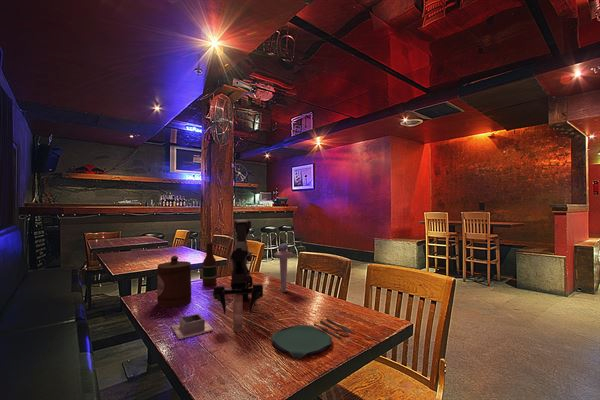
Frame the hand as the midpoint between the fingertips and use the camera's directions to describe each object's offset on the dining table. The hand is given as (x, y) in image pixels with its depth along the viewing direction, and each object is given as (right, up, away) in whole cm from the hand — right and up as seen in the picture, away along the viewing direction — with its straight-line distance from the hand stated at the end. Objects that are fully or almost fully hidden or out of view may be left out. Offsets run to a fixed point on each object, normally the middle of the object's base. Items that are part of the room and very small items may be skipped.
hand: (237, 313), depth 106 cm
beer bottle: (-29, -7, +60) cm, 67 cm away
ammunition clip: (-15, -7, +70) cm, 72 cm away
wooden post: (0, -7, +1) cm, 7 cm away
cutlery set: (+27, -7, -6) cm, 29 cm away
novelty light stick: (+14, -7, +47) cm, 50 cm away
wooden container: (-37, -7, +31) cm, 48 cm away
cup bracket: (-17, -7, +2) cm, 19 cm away
